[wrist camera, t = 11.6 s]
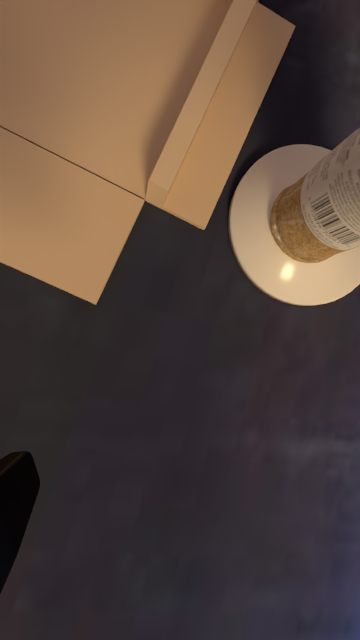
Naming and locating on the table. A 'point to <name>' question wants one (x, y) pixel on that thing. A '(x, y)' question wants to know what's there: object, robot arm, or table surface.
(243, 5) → the carton
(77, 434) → the table surface
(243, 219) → the coaster
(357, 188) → the sprinkles bottle
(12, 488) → the robot arm
